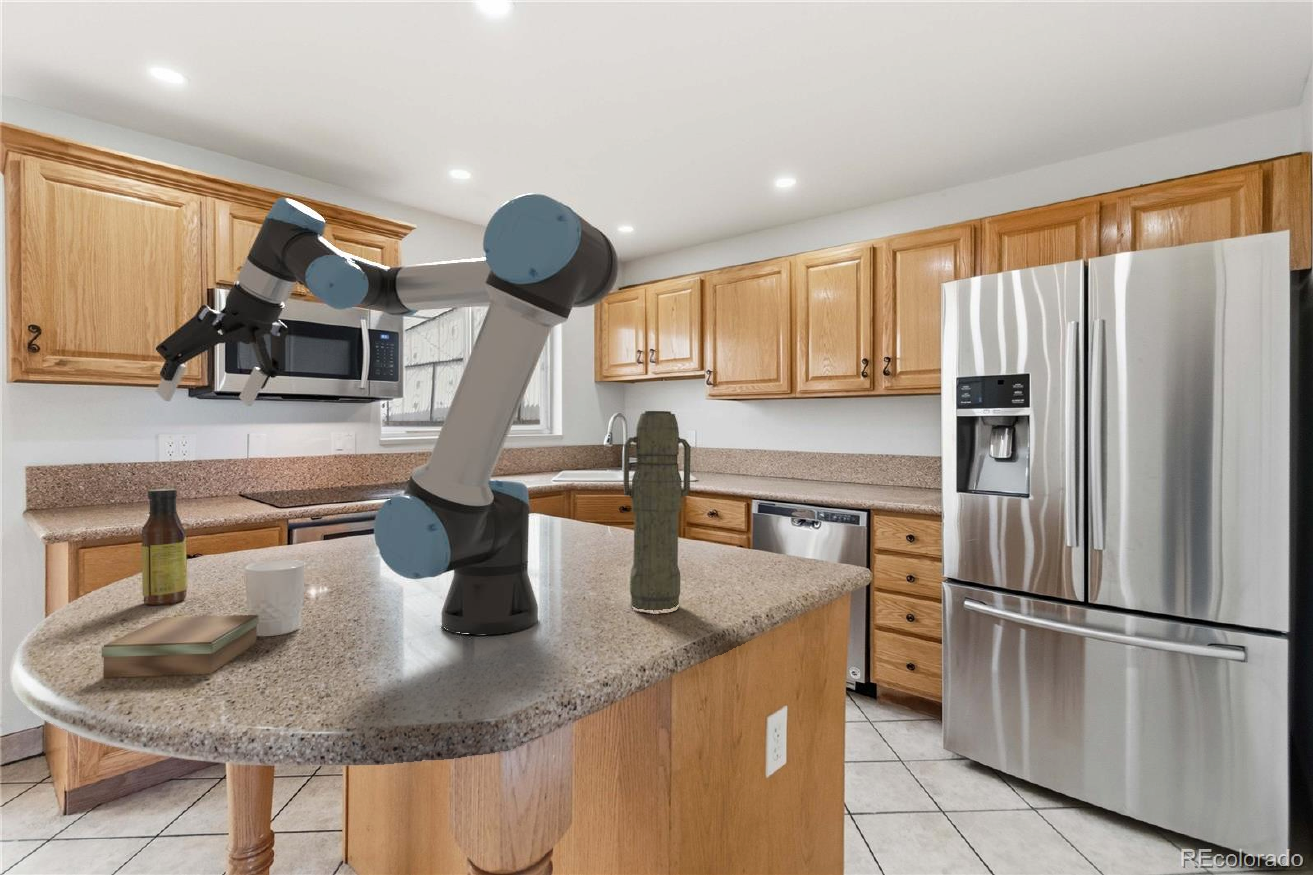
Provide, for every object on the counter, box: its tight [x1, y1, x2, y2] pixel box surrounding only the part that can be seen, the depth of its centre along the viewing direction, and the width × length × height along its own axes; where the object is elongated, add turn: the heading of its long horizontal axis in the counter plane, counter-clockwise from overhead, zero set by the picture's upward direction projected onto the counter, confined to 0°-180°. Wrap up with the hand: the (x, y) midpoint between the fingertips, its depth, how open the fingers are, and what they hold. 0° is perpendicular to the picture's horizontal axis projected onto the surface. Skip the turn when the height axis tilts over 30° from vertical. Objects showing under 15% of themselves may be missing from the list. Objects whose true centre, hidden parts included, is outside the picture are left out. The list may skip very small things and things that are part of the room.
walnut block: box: [101, 614, 259, 679], centre depth 84 cm, size 12×12×4 cm
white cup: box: [244, 559, 306, 637], centre depth 97 cm, size 8×8×10 cm
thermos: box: [623, 410, 692, 611], centre depth 113 cm, size 9×12×35 cm
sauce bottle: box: [141, 488, 188, 606], centre depth 112 cm, size 7×6×20 cm
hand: (206, 399), depth 106 cm, fingers open, 13 cm apart
